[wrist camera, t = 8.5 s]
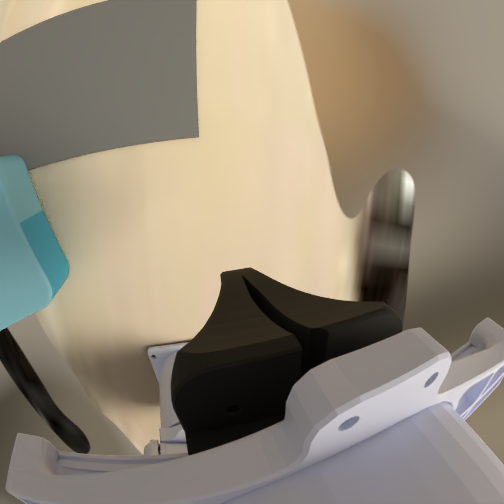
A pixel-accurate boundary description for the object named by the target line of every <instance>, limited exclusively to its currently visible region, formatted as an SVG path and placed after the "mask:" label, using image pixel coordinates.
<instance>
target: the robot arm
mask: <svg viewBox="0 0 504 504" xmlns="http://www.w3.org/2000/svg"><path fill="white" fill-rule="evenodd" d="M220 276H221V289H220V294H219V297H218V300H217V303H216V306H215V308H214V310H213V312H212V314H211V316H210V318H209V319H208V321H207V322H206V324H205V325H204V327H203V328H202V329H201V331H200V332H199V333H198V334H197V335H196V336H195V337H194V338H193V339H192V340H191V341H190V342H186V343H178V344H171V345H163V346H155V347H149V348H148V351H147V353H148V356H149V359H150V362H151V365H152V367H153V370H154V373H155V375H156V378H157V381H158V383H159V388H160V418H161V428H160V429H159V430H160V444H159V442H158V440H150V443H148V444H147V445H146V446H145V447H144V455H139V456H137V455H136V456H115V455H93V454H80V453H69V452H62V451H58V450H57V449H56V448H55V446H54V445H53V444H51V443H50V442H49V441H48V440H46V439H44V438H42V437H38V436H32V435H27V434H22V433H18V434H17V437H16V441H15V445H14V449H13V453H12V457H11V462H10V467H9V472H8V477H7V483H6V490H7V492H9V493H10V494H12V495H13V496H15V497H16V498H18V499H19V500H21V501H23V502H24V503H26V504H504V465H503V464H502V462H501V461H500V460H499V459H498V458H497V457H496V456H495V454H494V453H493V452H492V451H491V450H490V449H489V447H488V446H487V445H486V444H485V443H484V442H483V441H482V440H481V438H480V437H479V436H478V435H477V434H476V433H475V432H474V431H473V430H472V428H471V427H470V426H469V425H468V424H467V423H466V422H465V419H467V417H469V416H470V414H472V413H473V411H475V410H476V409H477V407H478V406H479V405H480V404H481V403H482V402H483V401H484V400H485V399H486V398H487V397H488V396H489V395H490V394H491V392H492V391H493V390H494V389H495V388H496V387H497V386H498V385H499V383H500V382H501V380H502V379H503V377H504V329H503V328H502V327H501V326H499V325H497V324H496V323H495V322H494V321H493V320H491V319H490V318H486V319H485V320H483V321H482V322H481V323H479V324H478V325H477V326H476V327H475V328H474V330H473V332H472V334H471V337H470V339H469V342H468V343H466V344H465V345H464V346H462V347H461V348H460V349H458V350H457V351H455V352H454V353H452V354H451V355H450V353H449V352H448V351H447V350H446V349H445V348H444V347H443V346H442V345H440V344H439V343H438V342H437V341H436V340H435V339H433V338H432V337H431V336H430V335H429V334H428V333H426V332H425V331H424V330H423V329H422V328H415V329H409V330H406V331H403V332H402V320H401V318H400V316H399V315H398V314H397V313H396V312H395V311H394V310H392V309H391V308H390V307H389V306H388V305H386V304H385V303H384V302H354V301H343V300H335V299H330V298H325V297H320V296H316V295H312V294H308V293H305V292H302V291H299V290H296V289H294V288H291V287H289V286H286V285H284V284H282V283H280V282H278V281H276V280H274V279H272V278H270V277H268V276H266V275H264V274H262V273H260V272H259V271H257V270H255V269H253V268H244V269H238V270H232V271H226V272H222V274H221V275H220ZM152 355H155V356H152ZM160 450H161V452H160Z"/></svg>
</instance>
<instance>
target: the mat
mask: <svg viewBox="0 0 504 504" xmlns="http://www.w3.org/2000/svg"><path fill="white" fill-rule="evenodd" d="M195 137H199V128H198V106H197V74H196V0H108V1H104V2H100V3H96V4H92V5H89V6H85V7H82V8H79V9H76V10H73V11H70V12H67V13H64V14H61V15H58V16H56V17H53V18H51V19H48V20H46V21H43V22H41V23H39V24H36V25H34V26H32V27H30V28H28V29H25V30H23V31H21V32H19V33H17V34H15V35H13V36H12V37H10V38H8V39H6V40H4V41H2V42H1V43H0V157H1V156H9V155H17V156H19V157H21V158H22V159H23V161H24V162H25V165H26V167H27V170H31V169H34V168H37V167H40V166H44V165H47V164H51V163H54V162H58V161H62V160H66V159H69V158H73V157H78V156H82V155H86V154H91V153H95V152H100V151H105V150H110V149H115V148H120V147H126V146H132V145H138V144H145V143H152V142H159V141H167V140H175V139H185V138H195Z"/></svg>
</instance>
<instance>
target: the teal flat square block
mask: <svg viewBox="0 0 504 504" xmlns="http://www.w3.org/2000/svg"><path fill="white" fill-rule="evenodd" d="M68 274H69V264H68V261H67V259H66V257H65V255H64V253H63V251H62V249H61V247H60V245H59V243H58V241H57V239H56V237H55V235H54V233H53V231H52V229H51V227H50V225H49V223H48V220H47V218H46V216H45V214H44V211H43V209H42V207H41V204H40V202H39V199H38V197H37V195H36V192H35V189H34V187H33V184H32V181H31V179H30V176H29V173H28V170H27V167H26V165H25V162H24V161H23V159H22V158H21V157H19V156H17V155H9V156H1V157H0V331H1V330H3V329H5V328H6V327H8V326H10V325H12V324H14V323H16V322H18V321H20V320H21V319H23V318H25V317H27V316H29V315H31V314H33V313H35V312H37V311H39V310H41V309H43V308H45V307H46V306H48V305H49V304H50V302H51V301H52V299H53V298H54V296H55V295H56V293H57V292H58V290H59V289H60V287H61V286H62V284H63V283H64V282H65V280H66V279H67V277H68Z"/></svg>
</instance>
